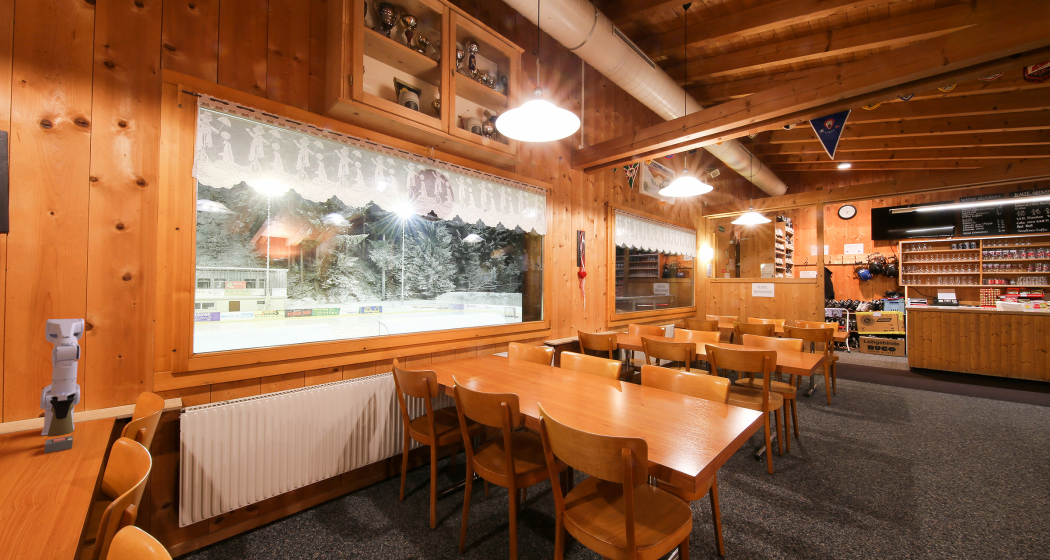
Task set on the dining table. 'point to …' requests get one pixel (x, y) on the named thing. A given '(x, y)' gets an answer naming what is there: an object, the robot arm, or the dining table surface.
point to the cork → (61, 424)
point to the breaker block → (58, 444)
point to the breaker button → (59, 439)
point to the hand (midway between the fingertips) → (61, 416)
